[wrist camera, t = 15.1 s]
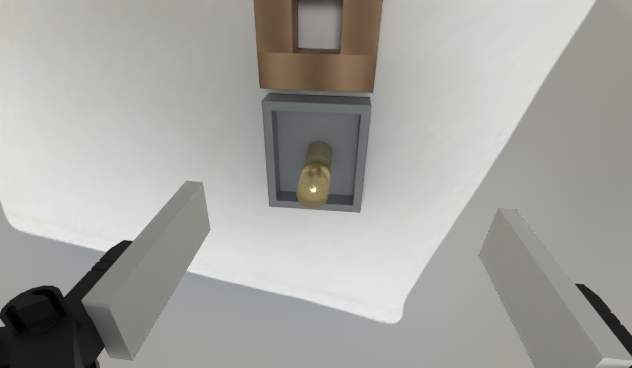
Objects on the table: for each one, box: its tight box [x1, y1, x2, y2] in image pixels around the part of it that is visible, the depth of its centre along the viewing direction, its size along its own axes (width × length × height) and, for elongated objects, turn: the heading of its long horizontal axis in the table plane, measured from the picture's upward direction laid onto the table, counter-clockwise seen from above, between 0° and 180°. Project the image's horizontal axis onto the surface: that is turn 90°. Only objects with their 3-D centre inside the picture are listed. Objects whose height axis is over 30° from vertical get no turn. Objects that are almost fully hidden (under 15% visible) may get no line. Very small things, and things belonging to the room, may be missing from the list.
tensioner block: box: [254, 0, 383, 93], centre depth 32 cm, size 12×12×4 cm
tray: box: [262, 93, 371, 212], centre depth 40 cm, size 12×14×4 cm
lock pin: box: [296, 141, 332, 208], centre depth 36 cm, size 3×3×10 cm
